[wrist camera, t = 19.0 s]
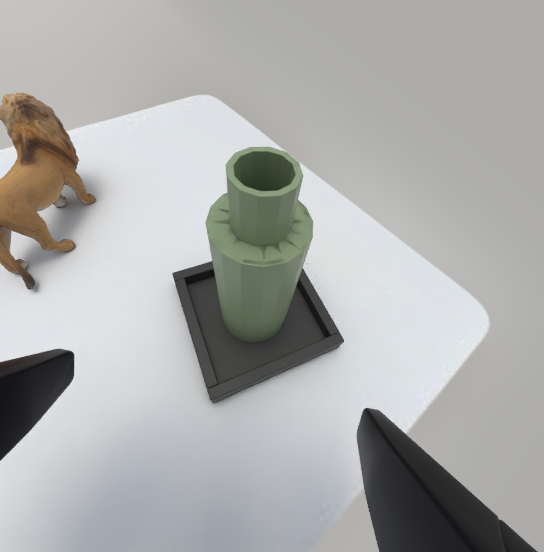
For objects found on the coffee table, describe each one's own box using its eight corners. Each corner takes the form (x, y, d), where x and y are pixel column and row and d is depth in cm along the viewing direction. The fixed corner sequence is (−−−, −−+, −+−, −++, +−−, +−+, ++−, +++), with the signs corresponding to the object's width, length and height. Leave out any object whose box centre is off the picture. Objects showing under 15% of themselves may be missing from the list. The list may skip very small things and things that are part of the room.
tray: (338, 347, 22) (344, 340, 21) (213, 403, 19) (210, 400, 18) (283, 249, 27) (286, 239, 25) (176, 282, 24) (172, 272, 23)
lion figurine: (53, 175, 29) (-15, 81, 22) (105, 174, 30) (58, 84, 23) (1, 295, 22) (-129, 217, 14) (72, 290, 23) (-15, 214, 15)
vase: (246, 356, 21) (250, 241, 9) (210, 306, 23) (172, 155, 11) (297, 318, 23) (355, 183, 11) (259, 275, 25) (274, 119, 13)
